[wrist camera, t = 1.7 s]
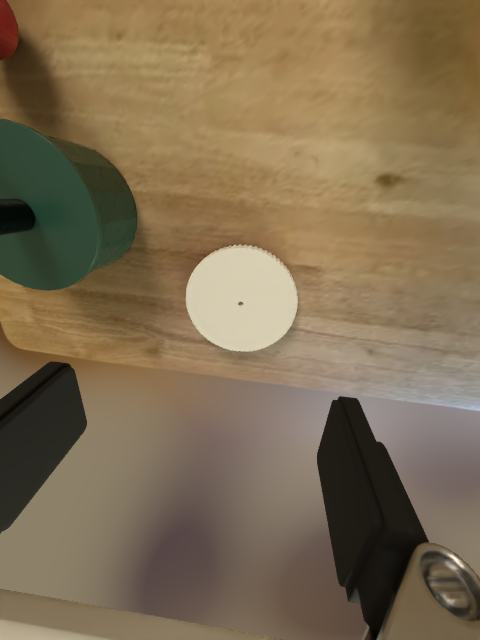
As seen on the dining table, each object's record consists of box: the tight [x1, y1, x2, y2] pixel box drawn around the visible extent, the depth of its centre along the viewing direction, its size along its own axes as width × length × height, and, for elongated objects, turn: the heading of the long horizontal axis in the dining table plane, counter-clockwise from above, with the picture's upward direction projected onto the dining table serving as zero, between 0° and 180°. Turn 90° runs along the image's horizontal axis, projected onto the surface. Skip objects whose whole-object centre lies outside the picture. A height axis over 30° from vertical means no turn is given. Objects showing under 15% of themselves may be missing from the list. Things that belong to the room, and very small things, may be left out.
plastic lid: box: [186, 244, 298, 352], centre depth 34 cm, size 14×14×2 cm
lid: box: [0, 119, 102, 290], centre depth 23 cm, size 15×15×6 cm
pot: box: [44, 135, 137, 273], centre depth 29 cm, size 14×14×8 cm
